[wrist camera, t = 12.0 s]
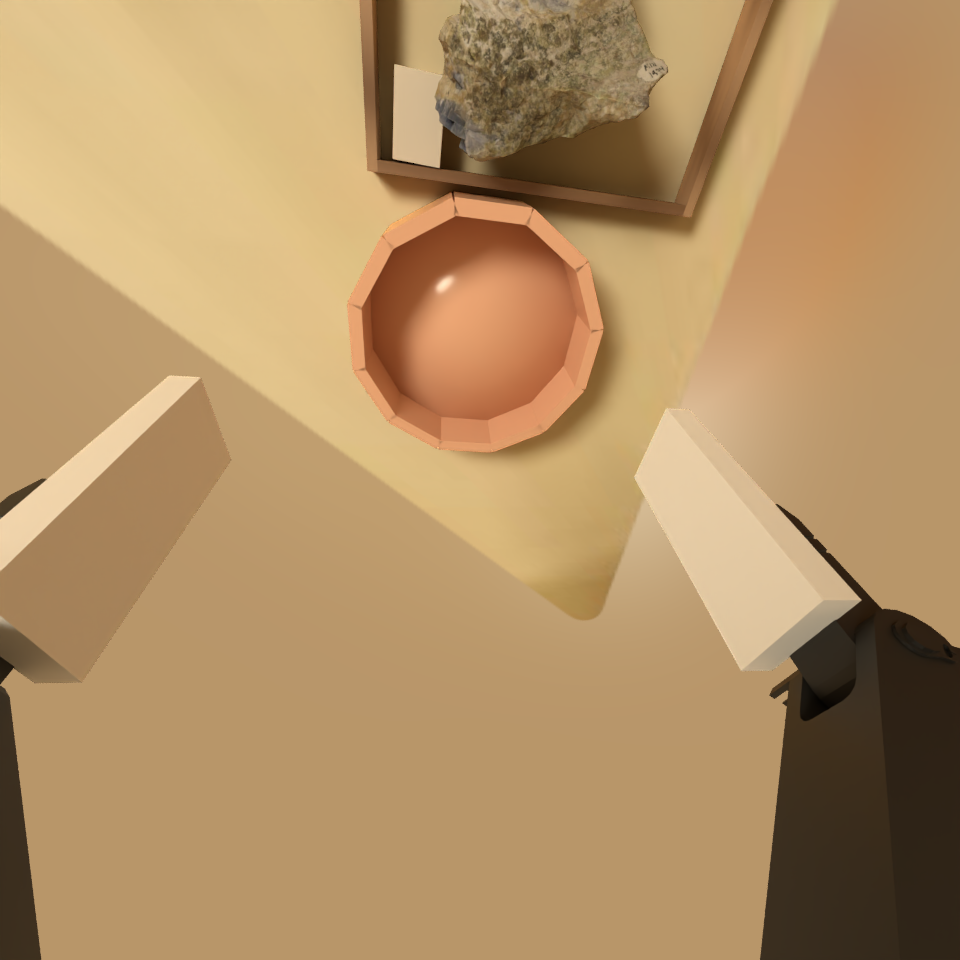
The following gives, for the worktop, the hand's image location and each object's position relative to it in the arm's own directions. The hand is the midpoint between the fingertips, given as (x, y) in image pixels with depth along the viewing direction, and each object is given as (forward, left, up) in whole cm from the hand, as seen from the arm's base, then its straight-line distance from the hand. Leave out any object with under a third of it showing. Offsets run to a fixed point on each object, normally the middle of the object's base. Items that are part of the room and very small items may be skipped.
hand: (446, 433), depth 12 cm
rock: (-14, +2, -22) cm, 26 cm away
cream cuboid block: (-8, -2, -23) cm, 24 cm away
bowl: (+4, +2, -23) cm, 23 cm away
